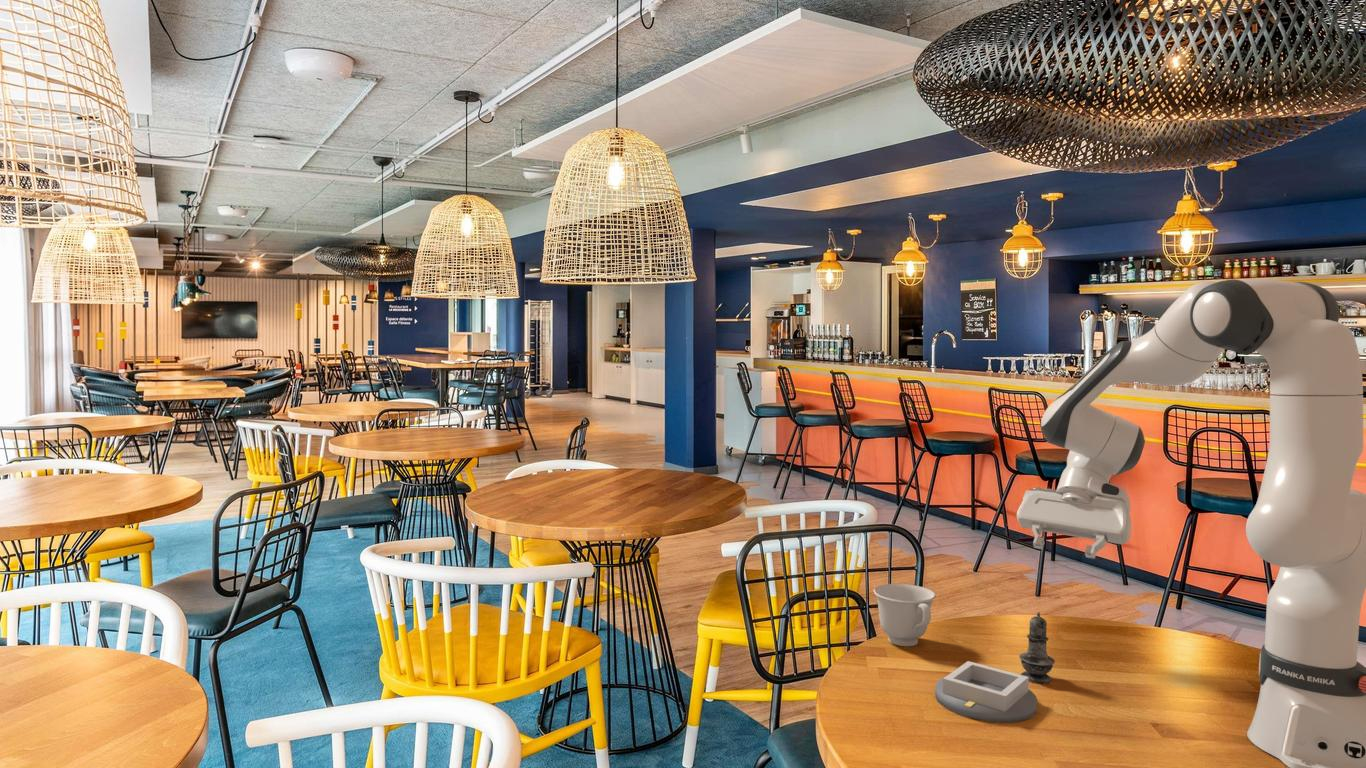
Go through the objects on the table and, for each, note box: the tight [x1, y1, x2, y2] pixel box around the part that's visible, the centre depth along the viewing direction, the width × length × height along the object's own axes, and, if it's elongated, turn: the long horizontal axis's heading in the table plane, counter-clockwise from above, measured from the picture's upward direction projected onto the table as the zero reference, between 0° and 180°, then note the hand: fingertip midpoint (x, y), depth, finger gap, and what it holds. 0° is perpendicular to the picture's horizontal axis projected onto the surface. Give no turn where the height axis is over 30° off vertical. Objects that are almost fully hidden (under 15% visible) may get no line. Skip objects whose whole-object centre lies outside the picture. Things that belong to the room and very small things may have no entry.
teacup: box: [873, 583, 936, 647], centre depth 169 cm, size 12×15×10 cm
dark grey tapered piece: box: [1018, 611, 1056, 685], centre depth 152 cm, size 6×6×12 cm
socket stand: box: [934, 660, 1038, 724], centre depth 142 cm, size 16×16×4 cm
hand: (1062, 551), depth 162 cm, fingers open, 8 cm apart
